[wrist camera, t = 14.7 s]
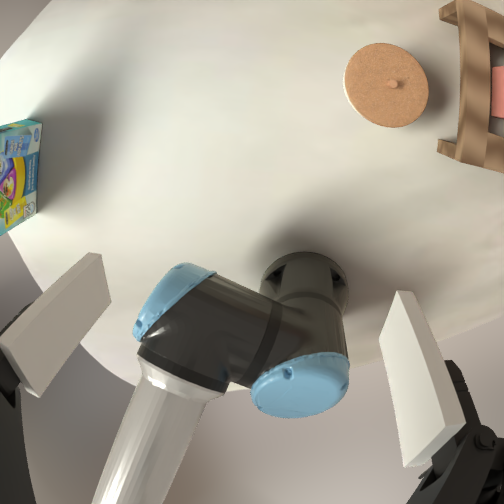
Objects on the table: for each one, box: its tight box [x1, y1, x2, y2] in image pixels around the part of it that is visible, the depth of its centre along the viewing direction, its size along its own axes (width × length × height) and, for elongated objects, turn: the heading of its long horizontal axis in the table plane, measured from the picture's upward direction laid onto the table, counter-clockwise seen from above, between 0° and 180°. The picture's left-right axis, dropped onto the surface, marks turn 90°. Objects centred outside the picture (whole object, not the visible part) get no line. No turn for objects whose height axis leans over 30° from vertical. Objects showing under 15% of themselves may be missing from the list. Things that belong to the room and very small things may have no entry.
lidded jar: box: [343, 43, 429, 128], centre depth 31 cm, size 11×11×9 cm
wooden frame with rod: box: [437, 0, 504, 173], centre depth 26 cm, size 24×18×10 cm
